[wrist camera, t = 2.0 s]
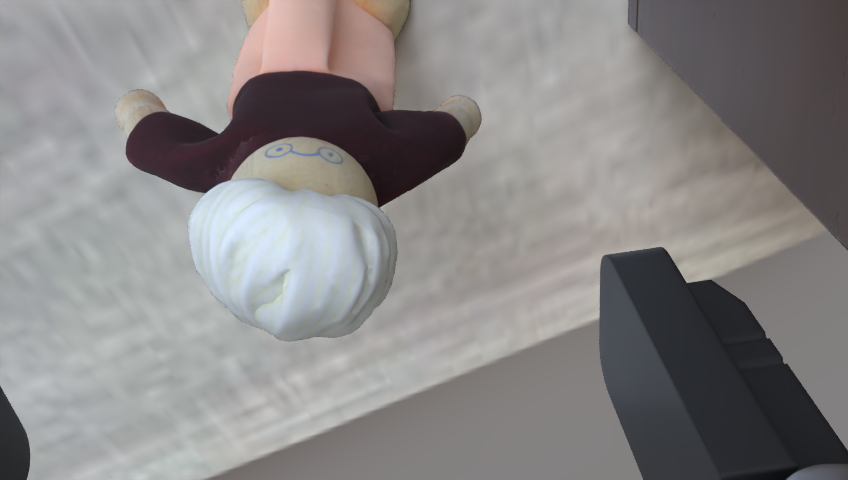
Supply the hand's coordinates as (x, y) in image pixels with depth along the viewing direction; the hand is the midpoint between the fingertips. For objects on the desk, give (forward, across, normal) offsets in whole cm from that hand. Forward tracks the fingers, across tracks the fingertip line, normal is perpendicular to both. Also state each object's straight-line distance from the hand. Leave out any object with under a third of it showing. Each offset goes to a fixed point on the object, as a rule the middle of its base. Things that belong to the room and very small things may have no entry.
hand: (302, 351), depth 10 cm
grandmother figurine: (+14, 0, 0) cm, 14 cm away
